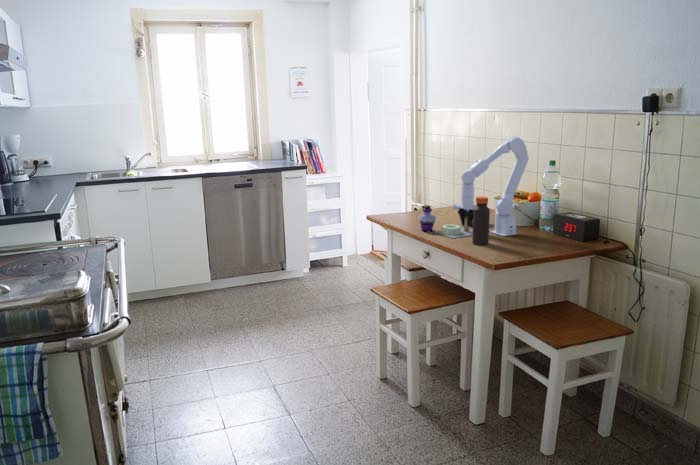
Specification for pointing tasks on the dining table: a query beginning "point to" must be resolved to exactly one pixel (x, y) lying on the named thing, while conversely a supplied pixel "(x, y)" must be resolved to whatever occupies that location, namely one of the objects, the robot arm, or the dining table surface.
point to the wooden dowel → (466, 228)
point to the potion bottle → (427, 219)
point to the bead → (451, 229)
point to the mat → (462, 234)
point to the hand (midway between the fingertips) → (466, 225)
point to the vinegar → (481, 222)
